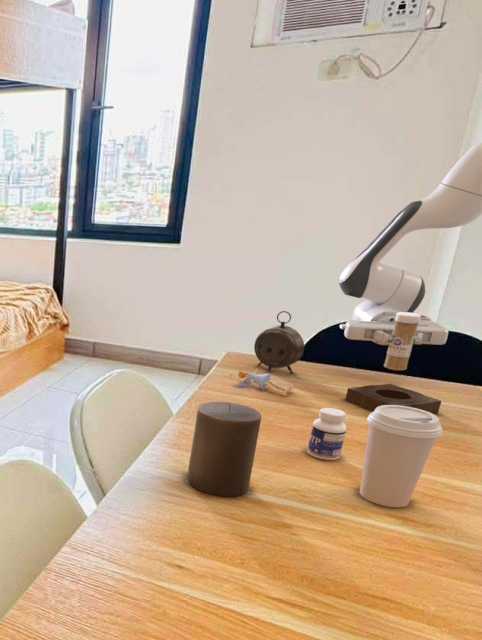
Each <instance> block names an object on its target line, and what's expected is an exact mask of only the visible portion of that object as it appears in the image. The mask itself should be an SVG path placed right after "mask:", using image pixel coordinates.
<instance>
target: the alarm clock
mask: <svg viewBox="0 0 482 640" xmlns="http://www.w3.org/2000/svg"><path fill="white" fill-rule="evenodd" d="M283 313H285V314H288V316H289V319H288V321H286V322H285V321H284V320H283V321H281V320H279V316H280V315H281V314H283ZM276 320H277V322H278V323H279V324H280V325H275V326H272V327H270V328H267V329H265V330H263V331H262V332H260V333H259V334H258V335H257V337H256V338H255V340H254V344H253V348H254V349H253V350H254V354H255V356H256V358H257V360H258V361H259V363H257V366H258V367H260V366H261V365H262V364H263V365H264V366H265V367H267V373H268V372H271V370H272V369H276V370H277V369H285V368H287V370H288V371H289V374H290V375H292V374H294V371H293V369H292V368H291V365H294V364H296V363H297V362H298V361H299V360H300V359H301V358H302V357H303V355H304V351H305V341H304V339H303V337H302V335H301V334H300V333H299V332H298V330H297V329H294V328H293V327H291V326H287V324H288V323H289V322H291V320H292V314H291V313H290V312H289V311H287V310H282V311H279V312H278V313H277V315H276Z"/></svg>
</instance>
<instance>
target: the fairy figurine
mask: <svg viewBox="0 0 482 640" xmlns="http://www.w3.org/2000/svg"><path fill="white" fill-rule="evenodd" d="M257 371H258V369H255V371H254V372H245V371H243V370H239V371H238V372H237V376H238V380H237V382H240V383H239V384H237V385H236V387H237V388H239V387H243V386H246V387H248V386H250V385H252V384H253V383H255V384H256V385H257V386H258V387H259V388H260V389H261V390H265V389H266V388H267V387H268V389H269V390H271V392H274V393H277V394H279V395H281V396H283V397H285V396H287V394H288V393H289V394H290V393H291V392H292V389H293V384H290V386H289V387H283V386H282V385H280V384H278V383H275V382H274V381H272V380H271V377H272V376H271V375H272V374H271V373H263V374H256V373H257Z"/></svg>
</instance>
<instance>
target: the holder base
mask: <svg viewBox="0 0 482 640" xmlns="http://www.w3.org/2000/svg"><path fill="white" fill-rule="evenodd" d="M346 390H347V391H346V395H345V399H344V400H345V401H347V402H349V403H352V404H354V405H357V406H359V407H361V408H364V409H366V410H368V411H371V412H374V411H375V409H376V408H377V407H378V406H382V405H400V406H407V407H413V408H417V409H421V410H424V411H427V412H430V413H432V414H434V415H436V414H437V415H438V414H439V412H440V408H441V404H442V400H440V399H437V398H435V397H432V396H428V395H425V394H423V393H422V392H417V391H415V390H412V389H408V388H404V387H401V386H399V385H395V384H393V383H383V384H370V385H363V386H355V387H348V388H347V389H346Z"/></svg>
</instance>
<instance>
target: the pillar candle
mask: <svg viewBox="0 0 482 640" xmlns="http://www.w3.org/2000/svg"><path fill="white" fill-rule="evenodd" d="M261 421H262V413H261V412H260V411H259V410H258V409H256V408H253V407H251V406H248V405H245V404H241V403H236V402H229V401H207V402H203V403H202V402H201V403H199V404H198V406H197V410H196V418H195V425H194V430H193V437H192V444H191V450H190V456H189V460H188V461H189V462H188V469H187V481H188V483H189V484H190V485H191V486H193V487H194V488H195V489H197V490H198V491H201V492H204V493H206V494H210V495H213V496H219V497H233V498H234V497H239V496H242V495H245V494H247V493H248V491H249V488H250V481H251V477H252V473H253V466H254V460H255V456H256V450H257V445H258V437H259V432H260V428H261Z"/></svg>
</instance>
